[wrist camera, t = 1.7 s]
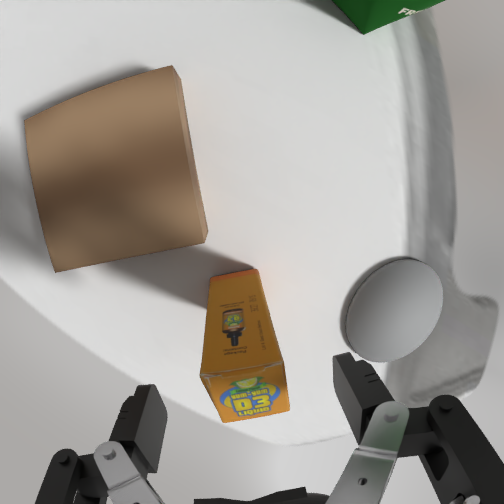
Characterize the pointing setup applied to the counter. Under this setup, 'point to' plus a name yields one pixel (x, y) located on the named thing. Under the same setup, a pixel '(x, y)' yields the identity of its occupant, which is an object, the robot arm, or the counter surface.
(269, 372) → the supplement box
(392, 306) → the grey coaster
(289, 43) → the counter surface
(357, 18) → the milk carton
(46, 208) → the walnut plinth
